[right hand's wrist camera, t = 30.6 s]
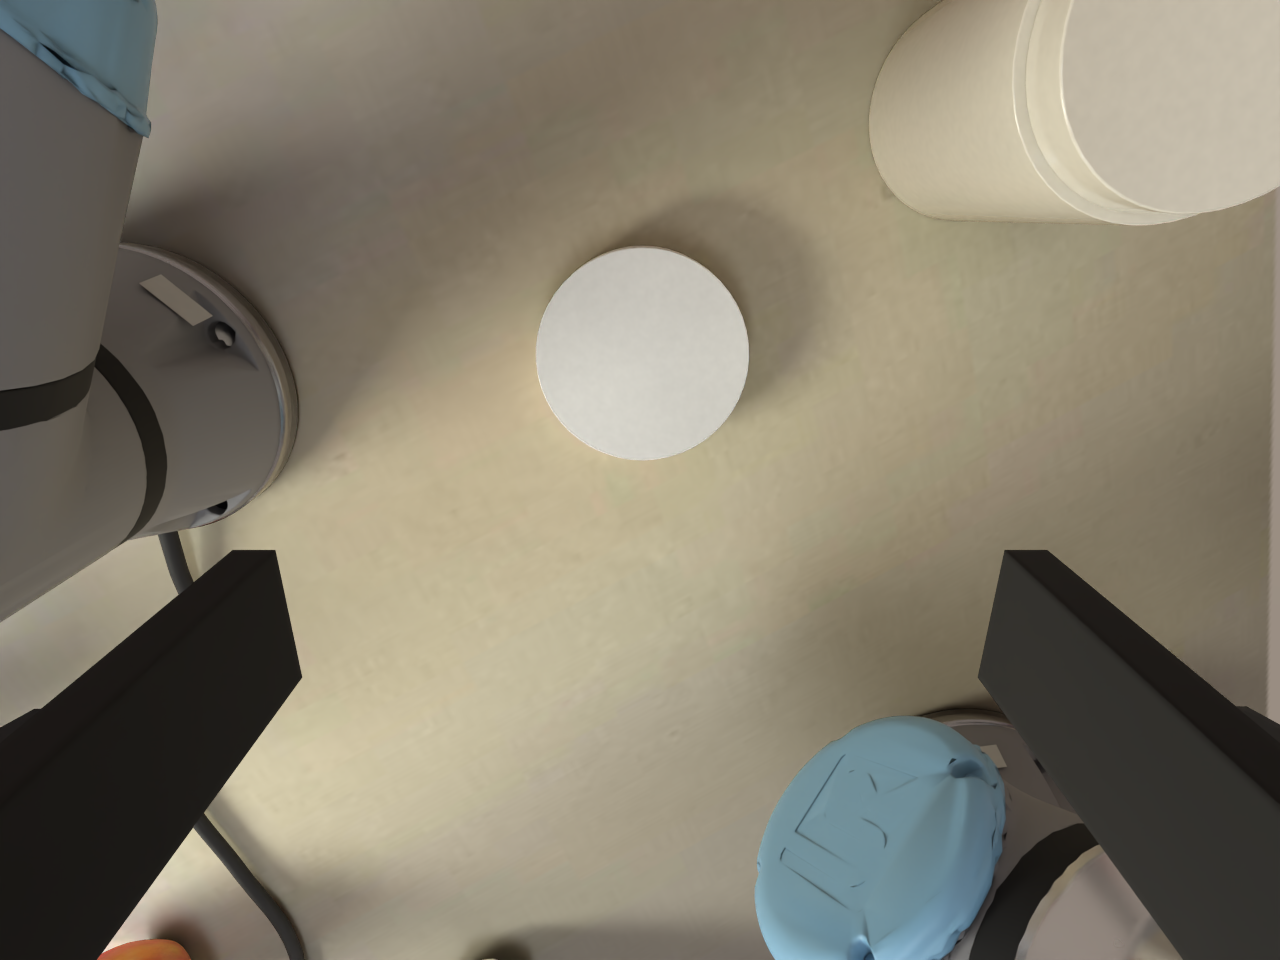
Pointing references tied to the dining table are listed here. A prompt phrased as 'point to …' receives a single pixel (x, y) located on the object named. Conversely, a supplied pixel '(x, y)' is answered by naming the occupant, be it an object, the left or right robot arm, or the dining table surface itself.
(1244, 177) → the jar
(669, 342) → the lid
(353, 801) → the dining table surface
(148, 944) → the apple
